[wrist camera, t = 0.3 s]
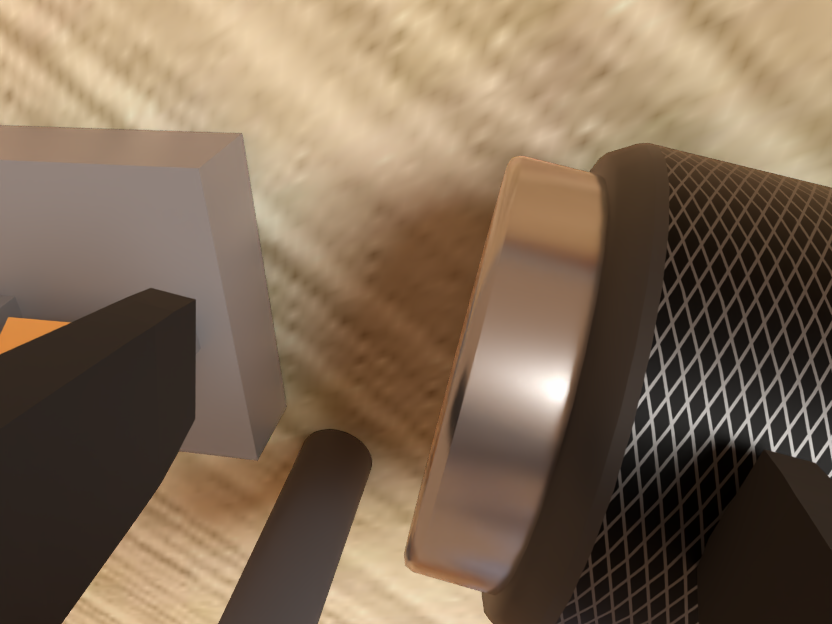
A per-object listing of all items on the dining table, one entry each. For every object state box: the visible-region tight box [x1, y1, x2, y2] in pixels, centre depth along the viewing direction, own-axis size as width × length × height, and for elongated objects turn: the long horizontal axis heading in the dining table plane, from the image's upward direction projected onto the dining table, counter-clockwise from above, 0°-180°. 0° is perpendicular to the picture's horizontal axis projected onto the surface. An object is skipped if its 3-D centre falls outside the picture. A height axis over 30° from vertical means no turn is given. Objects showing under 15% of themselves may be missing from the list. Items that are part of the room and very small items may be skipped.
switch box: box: [0, 125, 287, 461], centre depth 20 cm, size 9×8×4 cm
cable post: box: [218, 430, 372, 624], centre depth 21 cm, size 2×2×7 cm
